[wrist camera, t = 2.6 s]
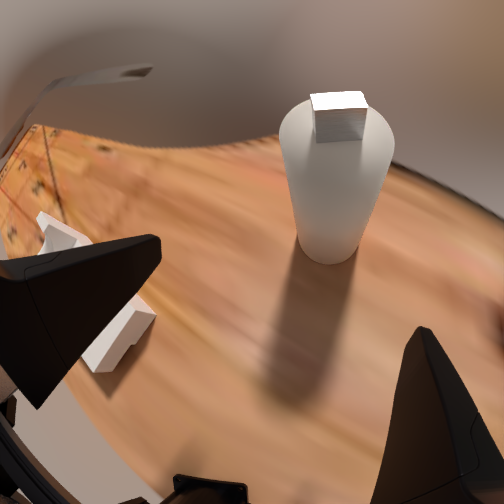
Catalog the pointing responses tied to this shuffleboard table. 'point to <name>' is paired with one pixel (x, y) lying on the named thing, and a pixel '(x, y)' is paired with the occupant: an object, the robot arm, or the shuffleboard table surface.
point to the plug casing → (334, 171)
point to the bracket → (124, 323)
